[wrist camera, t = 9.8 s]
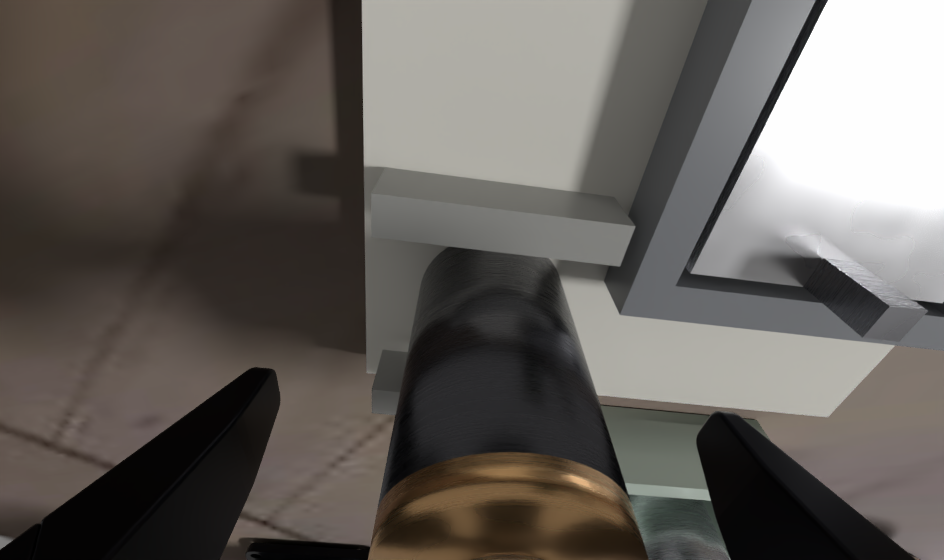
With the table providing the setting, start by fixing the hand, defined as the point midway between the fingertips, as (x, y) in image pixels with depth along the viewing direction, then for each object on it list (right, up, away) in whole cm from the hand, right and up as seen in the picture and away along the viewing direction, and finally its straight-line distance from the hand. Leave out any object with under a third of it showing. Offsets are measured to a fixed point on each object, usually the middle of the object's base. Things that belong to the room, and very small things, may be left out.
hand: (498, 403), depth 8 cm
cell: (0, +2, +3) cm, 4 cm away
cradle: (+8, +5, 0) cm, 10 cm away
